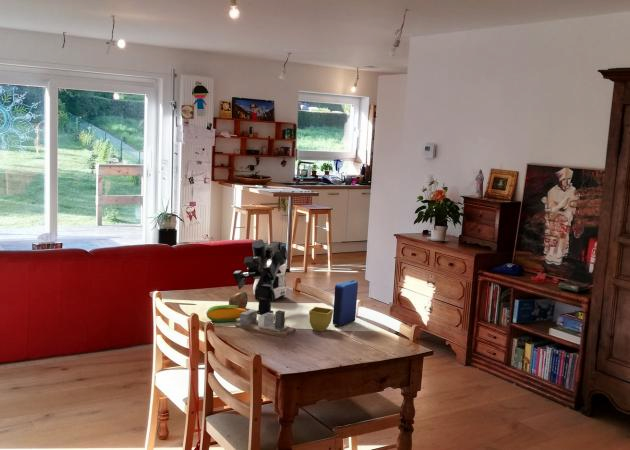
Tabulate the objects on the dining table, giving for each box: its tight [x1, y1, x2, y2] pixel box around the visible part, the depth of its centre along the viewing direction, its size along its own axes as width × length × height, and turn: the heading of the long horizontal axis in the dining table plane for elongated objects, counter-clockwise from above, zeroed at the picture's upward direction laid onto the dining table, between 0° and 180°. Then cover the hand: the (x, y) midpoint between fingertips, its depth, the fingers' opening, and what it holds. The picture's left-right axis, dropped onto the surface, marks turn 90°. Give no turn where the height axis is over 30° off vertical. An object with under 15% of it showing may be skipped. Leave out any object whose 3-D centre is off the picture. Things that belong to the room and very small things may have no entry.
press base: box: [234, 308, 297, 338], centre depth 303 cm, size 12×24×6 cm, turn 63°
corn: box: [206, 304, 248, 323], centre depth 312 cm, size 7×8×20 cm
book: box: [332, 279, 359, 327], centre depth 316 cm, size 14×5×20 cm, turn 145°
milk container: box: [252, 260, 287, 301], centre depth 356 cm, size 17×17×18 cm
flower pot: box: [308, 306, 334, 332], centre depth 306 cm, size 9×9×9 cm
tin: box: [228, 291, 249, 309], centre depth 329 cm, size 15×3×8 cm, turn 158°
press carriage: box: [257, 310, 290, 332], centre depth 301 cm, size 8×11×8 cm
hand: (248, 287), depth 301 cm, fingers open, 9 cm apart
